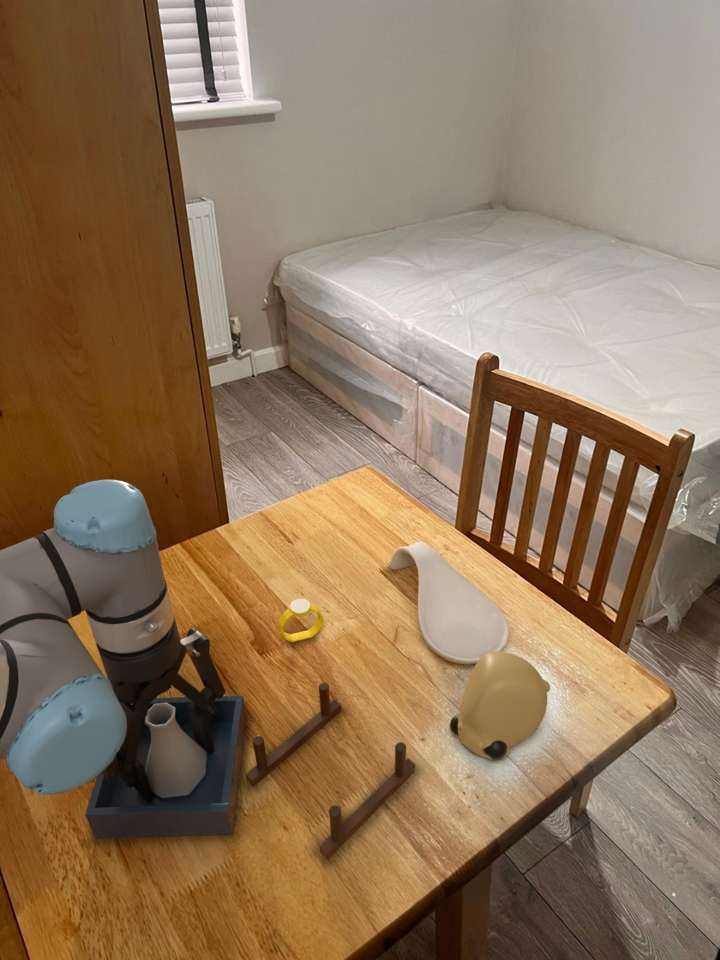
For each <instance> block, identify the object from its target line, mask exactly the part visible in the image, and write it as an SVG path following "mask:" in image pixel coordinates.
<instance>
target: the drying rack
mask: <svg viewBox="0 0 720 960" xmlns="http://www.w3.org/2000/svg"><path fill="white" fill-rule="evenodd" d="M318 695H319V696H318V698H319V707H320V711H319V712H317V713H316V714H315V715H314V716H312V717H311V718H310V719H309V720H308V721H306V723H305V724H303V725H302V726H301V727H300V728H298V729H297V730H296V731H295V732H294V733H293V734H291V735H290V736H289V737H287V739H285V740H284V741H283V742H282V743H281V744H279V745H278V746H277V747H276V748H275V749H274V750H272V751H271V752H270V753H269V754H268V755H267V753H266V746H265V739H264V737H263V736H262V735H256V736H254V737H253V739H252V745H253V751H254V757H255V763H256V765H254V766H253V767H252V768H251V769H250V770H249V771H247V772H246V774H245V780H246V782H247V783H248V784H250V786H251V787H255V786H256V785H258V784H259V783H260V782H261V781H262V780H263V779H264V778H266V777H267V776H268V775H269V774H270V773H271V772H273V770H275V769H276V768H278V766H279V765H280V764H282V763H283V762H284V761H285V760H286V759H288V758H289V757H290V756H291V755H293V753H295V752H296V751H297V750H298V749H299V748H301V746H302V745H304V744H305V743H306V742H307V741H309V739H310V738H312V737H313V736H314V735H315V734H316V733H318V732H319V731H320V730H321V729H322V728H323V727H325V726H326V725H327V724H328V723H329V722H330V721H331V720H333V719H334V718H335V717H336V716H337V715H338V714H340V713H341V712H342V705H341V704H340V703H339V702H337V701H336V700H335V699H333V700H332V701H331V699H330V698H331V697H330V695H331V694H330V685H329V683H327V682H325V681H324V682H321V683H319V684H318ZM414 772H416V763H415V762H413V760H411V759H409V758H407V745H406V744H405V742H402V741H399V742H397V743H395V745H394V771H393V772H392V773H391V774H390V776H388V777H387V778H386V779H385V780H384V781H383V782H382V783H381V784H380V785H379V786H378V787H377V788H376V789H375V790H374V791H373V792H372V793H371V794H370V795H369V796H368V797H367V798H366V799H365V800H364V801H363V802H362V803H361V804H360V805H359V806H358V807H357V808H356V809H355V810H354V811H353V812H352V813H351V814H350V815H349V816H348V817H347V818H346V819H345V820H344V821H343V820H342V808H341V806H339V805H337V804H333V805H331V806H330V807H329V808H328V815H329V827H330V828H329V830H330V835H329V836H328V837H327V838H326V839H325V840H324V841H322V843H321V844H319V848H318V849H319V853H320V855H322V856H323V857H324V858H325V859H326V860H329V859H330V858H331V857H332V856H333V855H334V854H335V853H337V851H338V850H339V849H340V848H341V847H342V846H343V845H344V844H345V843H346V842H347V841H348V840H349V838H351V837H352V835H353V834H355V832H357V830H359V828H361V827H362V825H363V824H365V822H366V821H367V820H368V819H370V817H371V816H373V814H374V813H375V812H376V811H377V810H378V809H379V808H381V806H382V805H383V804H384V803H386V801H387V800H388V799H389V798H390V797H391V796H392V795H393V794H394V793H395V792H396V791H397V790H398V789H399V788H400V787H401V786H402V785H403V784H404V783H405V781H407V780H408V779H409V777H410V776H411V775H413V773H414Z"/></svg>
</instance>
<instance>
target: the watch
mask: <svg viewBox="0 0 720 960" xmlns="http://www.w3.org/2000/svg"><path fill="white" fill-rule="evenodd" d="M310 612H313V613H316V615H317V618H316V620H315V622H314V624H313V625H312V626H311V627H310V628H309V629H307V630H303V631H299V632H294V633H289V632H286V631H284V629H285V625H286V623H287V622H288V620H289V619H291V618H292V617H293V616H295V617H305V616H307V615H309V614H310ZM323 625H324V616H323V613H322V612H321V610H320V608H319V607H318V606H317V605H316V604H314V603H311V602H310V601H309V600H307V599H306V598H296V599H293V600H292V601H291V603H290V604H289V607H288V608H287V609H286V610H284V611H283V612H282V614H281V615H280V617H279V619H278V625H277V628H278V630H279V633H280V635H281V637H282V638H283V640H284V641H287V642H289V643H295V642H299V641H303V640H307V639H312V638H314V636H316V635H317V634H319V632H320V631H321V629H322V627H323Z"/></svg>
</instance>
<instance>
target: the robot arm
mask: <svg viewBox="0 0 720 960" xmlns="http://www.w3.org/2000/svg"><path fill="white" fill-rule="evenodd" d="M53 519H54V520H53V527H52V528H49V529H47V530H45V531H42V532H41V534H38V535H35V536H32V537H31V538H28V539H25V540H23V541H20V542H18V543H16V544H13V545H11V546H8V547H6V548H3V549H0V759H1V760H2V759H3V760H6V764H7V769H8V770H9V771H10V774H12V775H13V776H15V778H16V779H17V781H18V782H19V784H20V785H22V786H23V787H24V788H26V789H27V790H28V791H32V792H34V793H35V794H37V795H45V796H48V795H49V796H50V795H58V794H64V793H67V792H70V791H73V790H75V789H78V788H80V787H82V786H83V785H85V784H87V783H89V782H91V781H92V780H93V779H96V778H97V775H99V774H100V773H101V772H102V773H103V774H104V776H105V777H106V778H107V779H108V780H113V779H114V778H116V776H117V775H118V773H120V775H121V778H122V780H123V781H124V782H125V783H126V784H127V785H128V787H130V788H132V787H135V789H136V790H137V791H138V793H139V794H140V795H141V796H142V797H143V798H144V799H145V801H146V802H147V803H148V804H149V803H150V802H151V801H153V800H154V797H153V794H152V791H151V788H150V785H149V781H148V778H147V775H146V772H145V769H144V766H143V763H142V762H141V761H140V760H139V759H138V758H137V757H136V756H137V750H138V745H139V739H140V733H141V728H142V722H143V717H146V716H147V712H148V707H149V703H150V702H152V701H153V700H154V699H155V698H158V696H159V695H162V694H164V693H166V692H168V691H169V690H170V689H171V688H172V687H173V688H174V689H176V691H178V692H180V693H181V694H182V695H183V696H184V697H187V698H188V699H190V700H191V701H192V702H191V703H190V704H189V705H187V709H188V713H189V717H190V721H191V725H192V729H193V733H194V737H195V741H196V742H197V743H198V744H199V745H200V746H201V747H202V748H203V749H204V750H205V751H206V752H207V753H208V754H209V755H210V754H211V753H213V752H214V751H215V750H214V746H213V741H212V737H211V733H210V727H211V726H212V725H213V724H214V721H215V720H214V714H215V713H216V712H217V707H216V706H215V705H214V704H213V702H214V700H215V699H216V698H217V699H220V698H222V697H223V696H225V695H226V690H225V687H224V685H223V683H222V680H221V678H220V675H219V673H218V671H217V668H216V666H215V664H214V662H213V661H214V660H213V659H212V656H211V655H210V648H211V647H210V646H211V640H210V639H209V638H207V637H206V636H205V635H204V634H203V633H202V632H201V631H199V630H198V629H197V628H196V627H190V629H188V631H187V633H186V637H184V638H182V639H181V636H180V634H179V629H178V624H177V621H176V618H175V615H174V614H175V613H174V609H173V604H172V599H171V596H170V591H169V587H168V584H167V581H166V578H165V572H164V568H163V563H162V559H161V554H160V549H159V545H158V539H157V529H156V526H155V525H154V523H153V520H152V517H151V514H150V510H149V508H148V505H147V502H146V498H145V497H144V495H143V493H142V492H141V491H140V489H138V488H137V487H136V486H134V485H133V484H130V483H128V482H125V481H122V480H118V479H99V480H93V481H89V482H85V483H83V484H80V485H78V486H75V487H73V488H72V489H71V490H70V492H69V494H66V495H63V496H62V497H61V498H59V500H58V501H57V503H56V505H55V507H54V510H53ZM84 611H85V615H86V617H87V618H86V619H87V621H88V625H89V627H90V630H91V633H92V634H91V635H92V637H93V639H94V641H95V644H96V645H95V646H96V649H97V651H98V654H99V658H100V660H101V663H102V666H103V669H104V672H105V674H106V675H105V674H104V672H103V671H102V669H101V668H100V667H99V665H98V664H97V662H96V660H95V659H94V658H93V656H92V654H91V653H90V651H89V650H88V648H87V647H86V645H85V644H84V643H83V641H82V640H81V639H80V637H79V635H78V634H77V633H76V630H75V629H74V627H73V626H72V625H71V623H70V621H69V620H71V619H72V618H75V617H77V616H79V615H81V614H82V612H84ZM187 654H188V655H189V657H190V660H191V661H192V664H193V665H194V668H195V670H196V672H197V674H198V677H199V679H200V681H201V683H202V685H203V688H202V689H201V690H199V689H198V688H197V687H195V686H194V685H193V684H192V683H190V682H189V681H188V680H187V679H186V678H184V677H183V676H182V675H181V674H180V673H179V672H180V669H181V667H182V664H183V662H184V659H185V658H186V655H187ZM194 703H195V704H194Z"/></svg>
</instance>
